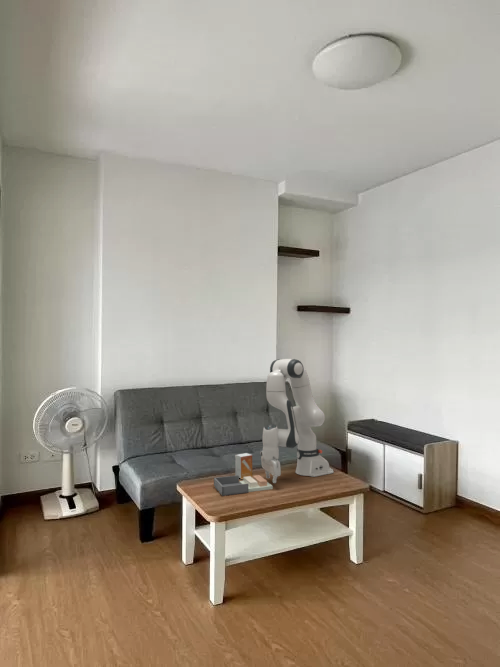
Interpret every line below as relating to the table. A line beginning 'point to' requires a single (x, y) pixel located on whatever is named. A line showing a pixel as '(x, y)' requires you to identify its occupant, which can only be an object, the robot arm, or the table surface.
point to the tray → (230, 485)
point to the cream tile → (250, 481)
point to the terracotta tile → (260, 480)
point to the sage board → (258, 487)
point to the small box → (243, 465)
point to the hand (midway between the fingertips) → (271, 480)
